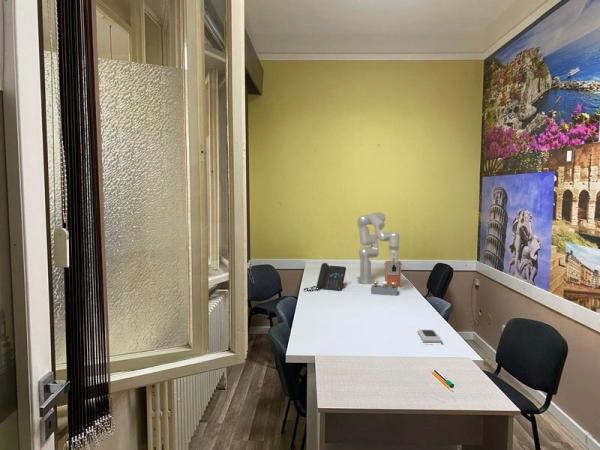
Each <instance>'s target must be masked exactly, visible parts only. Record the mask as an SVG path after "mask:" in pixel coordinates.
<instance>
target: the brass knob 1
mask: <svg viewBox="0 0 600 450" xmlns="http://www.w3.org/2000/svg"><path fill="white" fill-rule="evenodd" d="M372 281H373V283H372V285H374V287H377V285H379V281H378V280H375V279H374V280H372Z"/></svg>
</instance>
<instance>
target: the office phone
mask: <svg viewBox="0 0 600 450" xmlns="http://www.w3.org/2000/svg"><path fill="white" fill-rule="evenodd" d="M320 265H321V266H320V270H319V274H318V278H317V283H316V285H313V286H311V287H310V288H313V287H316V288H318V289H316V288H313V289H309V290H308V288H309V287H305V288H304V289H303V291H304V290H306V289H307V291H310V292H312V291H311V290H317V291H320V290H326V289H327V291H328V290H329V291H338V292H342V290H343V287H344V286H345V284H344V281H345V275H346V272H347V267H346V266H342V265H341V266H340V265H329V264H328V262H323V263H321V264H320Z"/></svg>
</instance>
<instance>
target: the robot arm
mask: <svg viewBox="0 0 600 450" xmlns="http://www.w3.org/2000/svg"><path fill="white" fill-rule="evenodd" d="M385 221H386V215H385V214H384V213H382V212H372V213H369V214H363V215H360V216H358V217H357V221H356V223H357V227H358V231H359V242H360V245H361V246H363V247H361V248H360V249H359V251H358V254H359V269H360V270H359V276H357V277H356V280H357V281H358V283H359V284H362V285H371V284H373V281H374V280H372V261H371V260H370V259H371V258H377V257H378V256H379V241H380V242H388V243H389V245H388V250H389V251H390V261H391V263H392V272H396V263H398V261H399V251H400V233H399V232H395V231H391V230H390V231H382V230H384V227H385ZM367 225H369V226H371V225H372V226H373V227H374V234H373V233H371V234H370V229H369V227H368V226H367Z"/></svg>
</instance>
